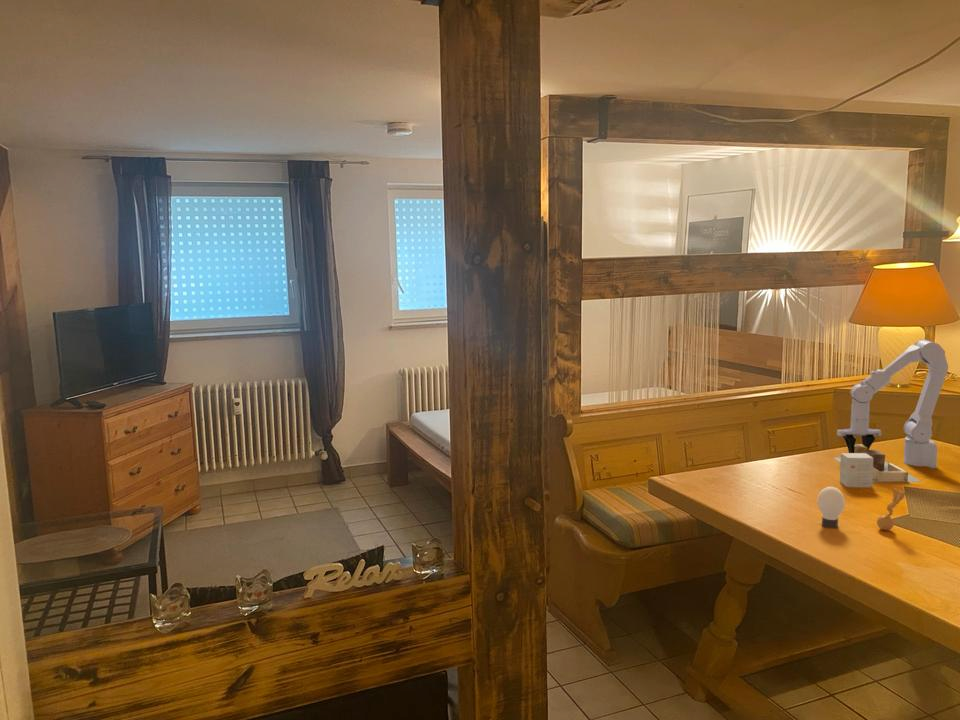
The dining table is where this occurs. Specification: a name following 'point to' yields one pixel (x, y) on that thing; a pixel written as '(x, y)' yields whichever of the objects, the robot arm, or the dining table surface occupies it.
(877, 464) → the walnut block with tether
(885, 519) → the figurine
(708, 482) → the dining table surface
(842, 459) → the small box
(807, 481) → the dining table surface
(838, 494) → the light bulb
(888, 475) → the shelf board with lane
